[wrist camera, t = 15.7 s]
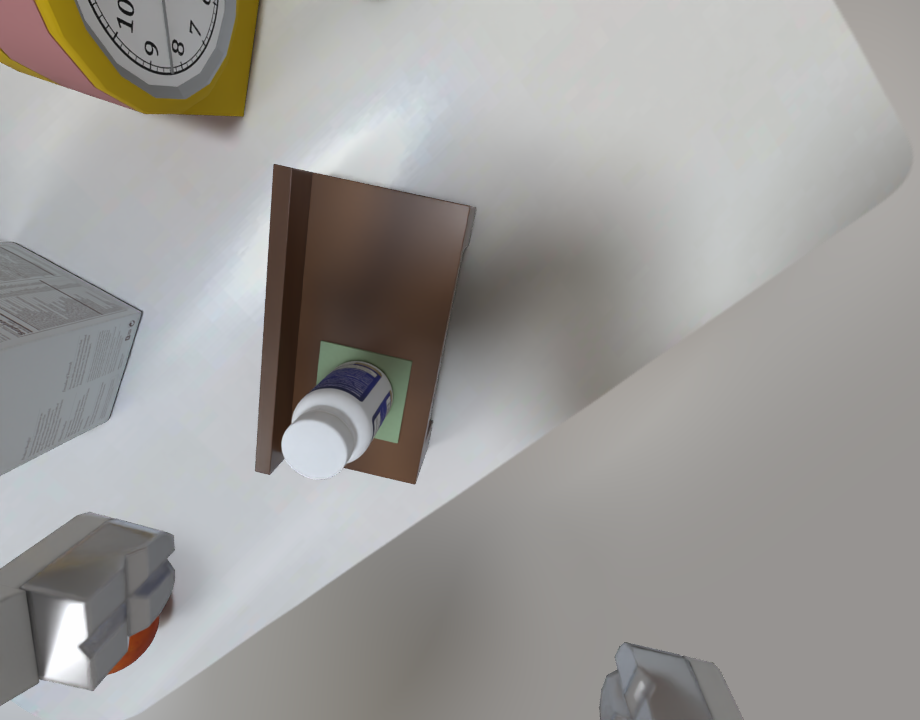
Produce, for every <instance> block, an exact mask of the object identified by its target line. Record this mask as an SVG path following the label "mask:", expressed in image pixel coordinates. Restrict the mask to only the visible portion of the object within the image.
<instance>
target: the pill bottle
mask: <svg viewBox="0 0 920 720" xmlns="http://www.w3.org/2000/svg"><path fill="white" fill-rule="evenodd" d="M392 401H393V392H392V387H391V384H390V382H389V380H388V378H387V377H386V376H385V374H384V373H383V372H382V371H381V370H380V369H378V368H377V367H375V366H373V365H371V364H369V363H366V362H362V361H351V362H346V363H343V364H341V365H339V366H338V367H336V368H335V369H334V370H333V371H331V372H330V373H329V374H328V375H327V376H326V377H325V378H324V379H323V380H322V381H321V382H320V383H319V384H317V385H316V386H315V387H314V388H313V389H312V390H311V391H310V392H309V393H308V394H306V395H305V396H304V397H303V399H302V400H301V401H300V402H299V403H298V404H297V406H296V408H295V410H294V412H293V416H292V424H291V425H290V426H289V427H288V428H287V429H286V431H285V433H284V435H283V438H282V444H281V446H282V453H283V456H284V458H285V460H286V462H287V463H288V465H289V466H290V467H291V468H292V469H293V470H294V471H296V472H297V473H298V474H300V475H302V476H304V477H307V478H310V479H315V480H323V479H328V478H331V477H333V476H335V475H337V474H338V473H339V472H340V471H341V470H342V469H343V468H344V466H345V465H346V464H347V463H350V462H352V461H354V460H356V459H357V458H359V457H360V456H361V455H362V454H363V453H364V452H365V451H366V450H367V448H368V447H369V445H370V443H371V442H372V440H373V438H374V437H375V435H376V433H377V431H378V430H379V428H380V426H381V425H382V423H383V421H384V419H385V418H386V416H387V414H388V412H389V410H390V408H391V406H392Z"/></svg>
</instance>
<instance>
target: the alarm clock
mask: <svg viewBox="0 0 920 720" xmlns="http://www.w3.org/2000/svg"><path fill="white" fill-rule="evenodd" d="M258 5H259V0H0V62H1V63H3V64H5V65H7V66H9V67H11V68H13V69H15V70H17V71H19V72H22V73H25V74H28V75H31V76H34V77H37V78H40V79H43V80H46V81H49V82H52V83H55V84H58V85H61V86H64V87H67V88H70V89H72V90H75V91H78V92H81V93H84V94H87V95H90V96H93V97H96V98H99V99H102V100H105V101H108V102H111V103H114V104H117V105H120V106H123V107H126V108H129V109H132V110H135V111H138V112H141V113H144V114H186V115H214V116H243V115H244V108H245V101H246V93H247V86H248V79H249V71H250V64H251V57H252V49H253V42H254V35H255V27H256V20H257V13H258Z"/></svg>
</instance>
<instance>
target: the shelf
mask: <svg viewBox="0 0 920 720" xmlns="http://www.w3.org/2000/svg"><path fill="white" fill-rule="evenodd" d="M475 212H476V207H472V206H468V205H463V204H458V203H454V202H449V201H444V200H439V199H435V198H430V197H425V196H421V195H416V194H411V193H407V192H402V191H397V190H393V189H388V188H383V187H379V186H374V185H369V184H365V183H360V182H355V181H351V180H346V179H341V178H337V177H332V176H327V175H323V174H318V173H313V172H309V171H304V170H299V169H295V168H290V167H286V166H281V165H276V164H274V167H273V183H272V200H271V216H270V233H269V249H268V266H267V282H266V299H265V315H264V332H263V348H262V365H261V381H260V398H259V414H258V431H257V447H256V464H255V471H256V472H260V473H264V474H268V475H270V474H271V473H272V472H273V471H274V470H275V469H276V467H277V466H278V465H279V464H280V463H281V462H282V461H283V460H284V459H285V458H284V456H283V453H282V446H281V444H282V438H283V435H284V433H285V431H286V429H287V428H288V427H289V426H290V425H291V424H292V416H293V412H294V410H295V408H296V406H297V404H298V403H299V402H300V401H301V400H302V399H303V397H304V396H305V395H306V394H308V393H309V392H310V391H311V390H312V389H313V388H314V387H315V386H316V385H317V384H319V383H320V382H321V381H322V380H323V379H324V378H325V377H326V376H327V375H328V374H329V373H330V372H331V371H333V370H334V369H335V368H336V367H338V366H339V365H341V364H343V363H346V362H351V361H362V362H366V363H369V364H371V365H373V366H375V367H377V368H378V369H380V370H381V371H382V372H383V373H384V374H385V376H386V377H387V378H388V380H389V382H390V384H391V387H392V392H393V401H392V406H391V408H390V410H389V412H388V414H387V416H386V418H385V419H384V421H383V423H382V425H381V426H380V428H379V430H378V431H377V433H376V435H375V437H374V438H373V440H372V442H371V443H370V445H369V447H368V448H367V450H366V451H365V452H364V453H363V454H362V455H361V456H360V457H359V458H357V459H356V460H354V461H352V462H350V463H347V464H346V465H345V466H344V468H347V469H351V470H355V471H360V472H364V473H368V474H372V475H377V476H381V477H385V478H389V479H394V480H398V481H402V482H406V483H411V484H416V481H417V478H418V475H419V472H420V469H421V466H422V463H423V461H424V458H425V455H426V452H427V449H428V444H429V439H430V434H431V429H432V424H433V421H431V420H430V416H431V411H432V406H433V401H434V396H435V391H436V386H437V381H438V376H439V371H440V366H441V361H442V356H443V351H444V346H445V341H446V336H447V331H448V326H449V321H450V316H451V311H452V306H453V301H454V296H455V291H456V286H457V281H458V276H459V271H460V266H461V261H462V256H463V251H464V249H465V248H466V247H468V246H469V242H470V237H471V232H472V227H473V222H474V217H475Z"/></svg>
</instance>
